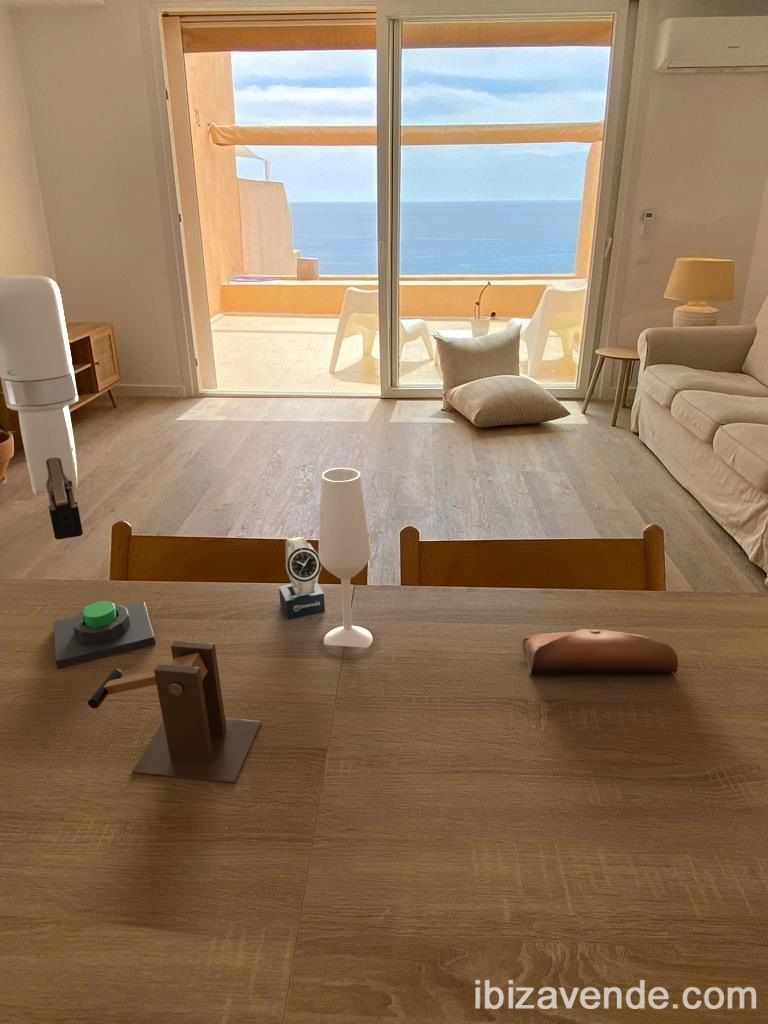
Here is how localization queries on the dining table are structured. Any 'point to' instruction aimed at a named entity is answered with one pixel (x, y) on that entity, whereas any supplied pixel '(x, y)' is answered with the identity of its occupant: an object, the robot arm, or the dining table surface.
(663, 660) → the sunglasses case
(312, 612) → the watch
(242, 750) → the switch bracket
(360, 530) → the champagne flute
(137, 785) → the dining table surface
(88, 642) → the button box
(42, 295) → the robot arm
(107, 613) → the light button
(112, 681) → the lever
